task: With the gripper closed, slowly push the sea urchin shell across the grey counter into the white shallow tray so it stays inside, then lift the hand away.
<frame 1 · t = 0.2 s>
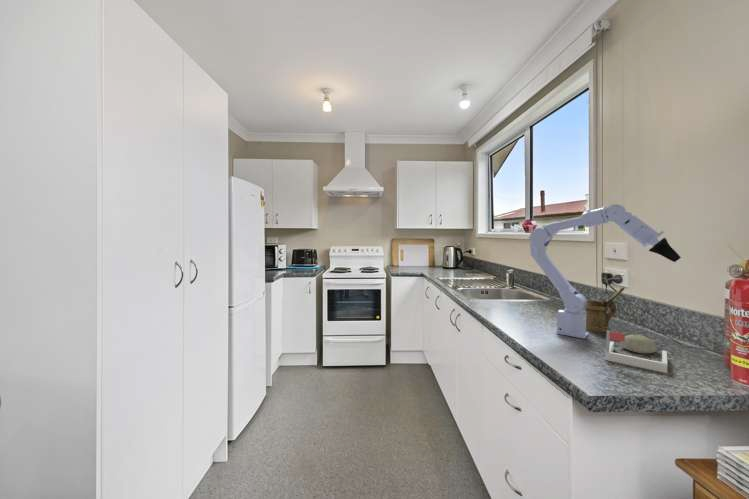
hand: (677, 259, 103), 31 cm above the countertop, tool tilted 45°, fingers open, 7 cm apart
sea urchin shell: (637, 351, 106), on the countertop
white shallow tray: (635, 359, 98), on the countertop
wooden mug: (601, 330, 129), on the countertop
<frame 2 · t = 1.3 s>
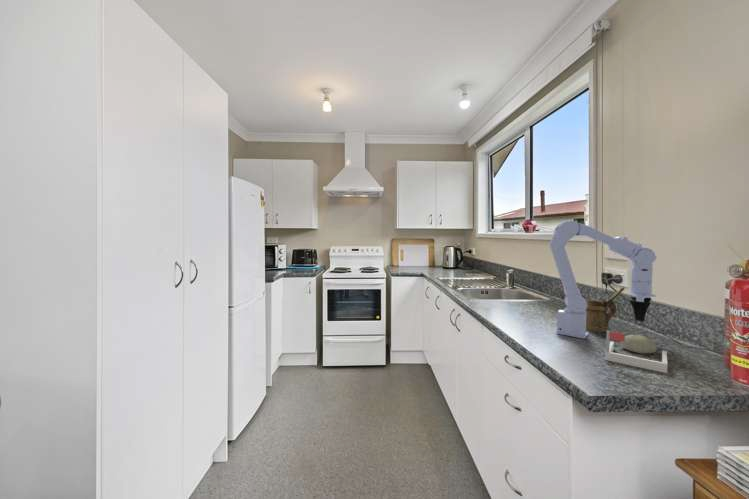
hand: (640, 318, 114), 8 cm above the countertop, tool pointing down, fingers open, 7 cm apart
nothing on the countertop moved.
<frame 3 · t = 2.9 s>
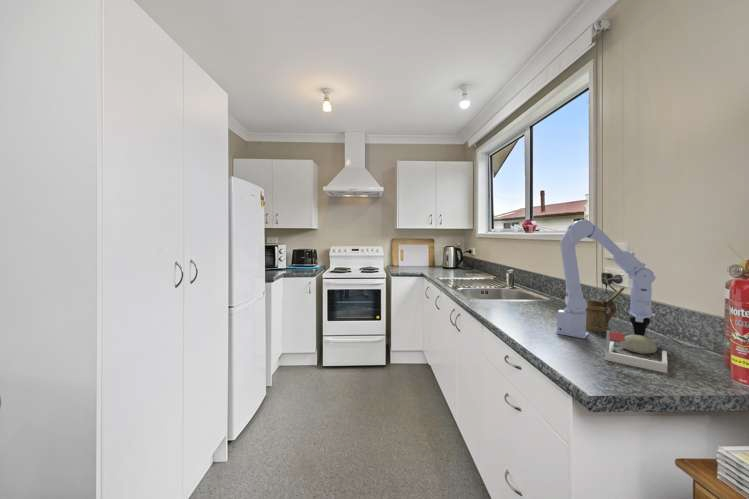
hand: (639, 337, 114), 1 cm above the countertop, tool pointing down, fingers closed
nothing on the countertop moved.
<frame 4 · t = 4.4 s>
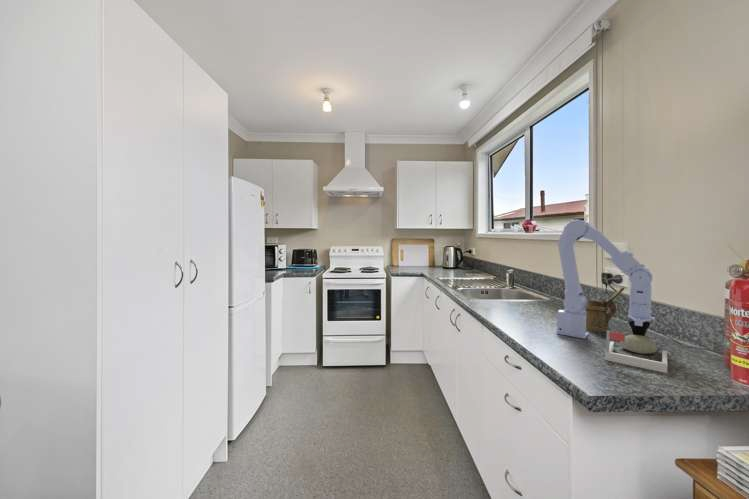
hand: (638, 342, 109), 1 cm above the countertop, tool pointing down, fingers closed
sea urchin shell: (637, 351, 105), on the countertop, touching gripper
everything else where it was.
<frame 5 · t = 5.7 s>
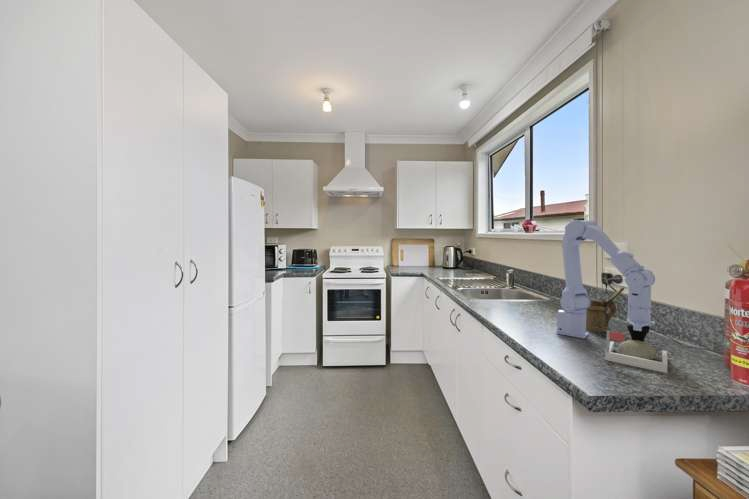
hand: (637, 347, 104), 1 cm above the countertop, tool pointing down, fingers closed
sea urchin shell: (636, 357, 100), on the countertop, touching gripper
everything else where it was.
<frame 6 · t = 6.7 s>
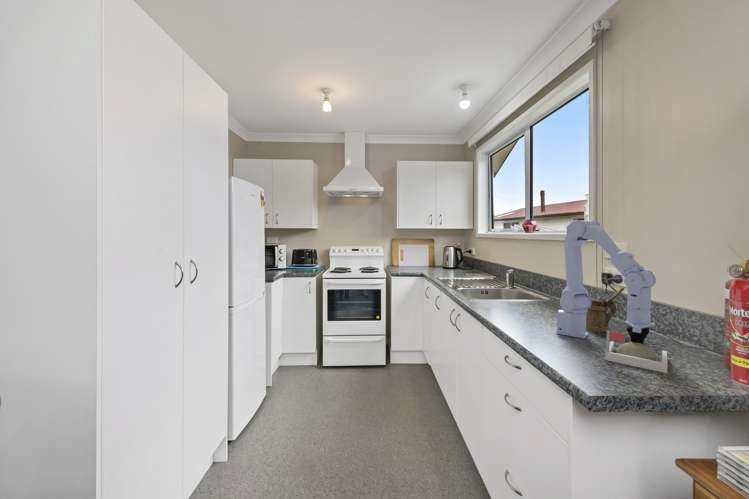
hand: (637, 349, 102), 1 cm above the countertop, tool pointing down, fingers closed
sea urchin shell: (635, 360, 98), on the countertop
everything else where it was.
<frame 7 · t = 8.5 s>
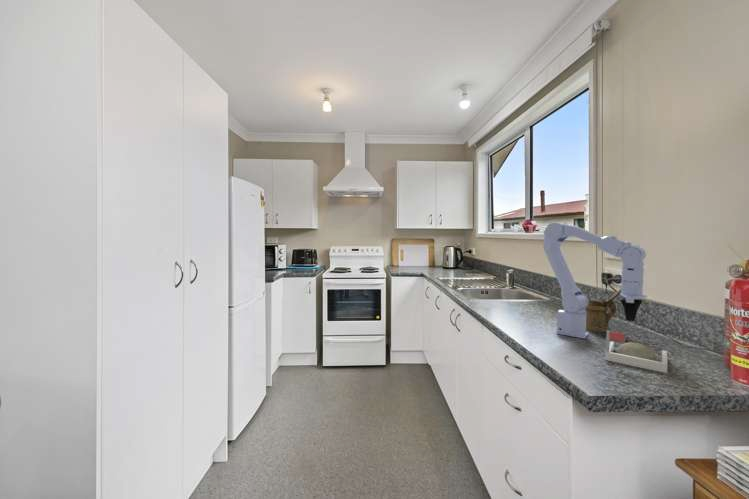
hand: (630, 320, 109), 9 cm above the countertop, tool pointing down, fingers closed
nothing on the countertop moved.
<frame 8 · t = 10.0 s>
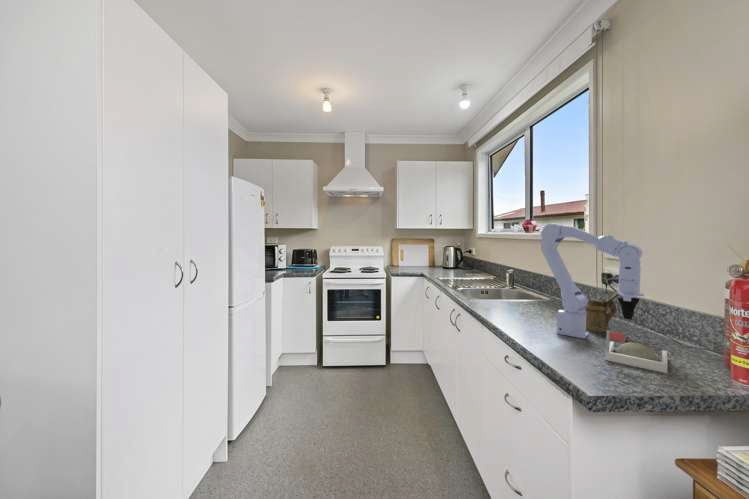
hand: (627, 318, 110), 9 cm above the countertop, tool pointing down, fingers closed
nothing on the countertop moved.
at the end: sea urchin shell inside the target area on the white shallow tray (2.0 cm from its centre), point 0.0 cm above the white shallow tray's base; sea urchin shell moved 10.5 cm from its start; the gripper is holding nothing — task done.
